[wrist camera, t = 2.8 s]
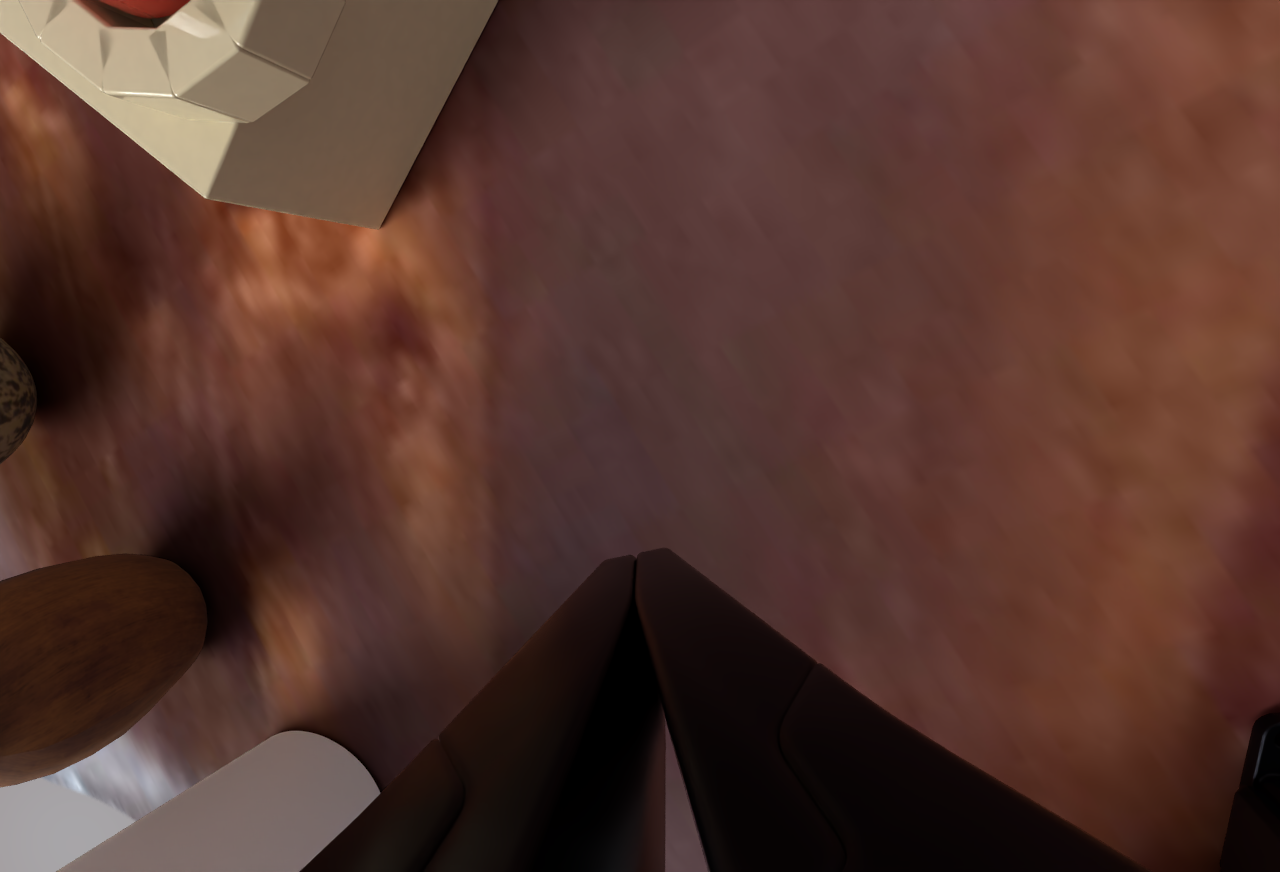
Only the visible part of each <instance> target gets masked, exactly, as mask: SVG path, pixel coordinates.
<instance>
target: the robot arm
mask: <svg viewBox="0 0 1280 872" xmlns="http://www.w3.org/2000/svg"><path fill="white" fill-rule="evenodd" d="M664 715H665V716H664ZM665 718H666V722H667V726H668V729H669V733H670V737H671V740H672V744H673V747H674V751H675V754H676V758H677V762H678V765H679V769H680V772H681V776H682V780H683V783H684V787H685V790H686V794H687V797H688V801H689V805H690V808H691V812H692V815H693V819H694V822H695V826H696V830H697V833H698V837H699V840H700V844H701V847H702V851H703V855H704V858H705V862H706V865H707V869H708V872H1152V871H1151V870H1149V869H1147V868H1146V867H1144V866H1142V865H1141V864H1139V863H1137V862H1136V861H1134V860H1132V859H1131V858H1129V857H1127V856H1125V855H1124V854H1122V853H1120V852H1119V851H1117V850H1115V849H1114V848H1112V847H1110V846H1109V845H1107V844H1105V843H1104V842H1102V841H1100V840H1099V839H1097V838H1095V837H1094V836H1092V835H1090V834H1088V833H1087V832H1085V831H1083V830H1082V829H1080V828H1078V827H1077V826H1075V825H1073V824H1072V823H1070V822H1068V821H1067V820H1065V819H1063V818H1062V817H1060V816H1058V815H1056V814H1055V813H1053V812H1051V811H1050V810H1048V809H1046V808H1045V807H1043V806H1041V805H1040V804H1038V803H1036V802H1035V801H1033V800H1031V799H1030V798H1028V797H1026V796H1024V795H1023V794H1021V793H1019V792H1018V791H1016V790H1014V789H1013V788H1011V787H1009V786H1008V785H1006V784H1004V783H1003V782H1001V781H999V780H998V779H996V778H994V777H992V776H991V775H989V774H987V773H986V772H984V771H982V770H981V769H979V768H977V767H976V766H974V765H972V764H971V763H969V762H967V761H966V760H964V759H962V758H960V757H959V756H957V755H955V754H954V753H952V752H950V751H949V750H947V749H946V748H944V747H942V746H941V745H939V744H938V743H936V742H934V741H933V740H931V739H930V738H928V737H927V736H925V735H923V734H922V733H920V732H919V731H917V730H915V729H914V728H912V727H911V726H909V725H907V724H906V723H904V722H903V721H901V720H899V719H898V718H896V717H895V716H893V715H891V714H890V713H889V712H887V711H886V710H884V709H883V708H881V707H880V706H879V705H877V704H876V703H874V702H873V701H872V700H870V699H869V698H867V697H866V696H865V695H863V694H862V693H860V692H859V691H857V690H856V689H855V688H853V687H852V686H850V685H849V684H848V683H846V682H845V681H844V680H842V679H841V678H840V677H838V676H837V675H836V674H834V673H833V672H832V671H830V670H829V669H828V668H826V667H825V666H824V665H822V664H820V663H818V664H817V662H816V661H815V660H814V659H813V658H811V657H810V656H809V655H807V654H806V653H805V652H803V651H802V650H801V649H800V648H798V647H797V646H796V645H794V644H793V643H792V642H790V641H789V640H788V639H786V638H785V637H784V636H783V635H781V634H780V633H779V632H777V631H776V630H775V629H773V628H772V627H771V626H769V625H768V624H767V623H765V622H764V621H763V620H762V619H760V618H759V617H758V616H756V615H755V614H754V613H752V612H751V611H750V610H748V609H747V608H746V607H745V606H743V605H742V604H741V603H739V602H738V601H737V600H735V599H734V598H733V597H731V596H730V595H729V594H727V593H726V592H725V591H724V590H722V589H721V588H720V587H718V586H717V585H716V584H714V583H713V582H712V581H710V580H709V579H708V578H707V577H705V576H704V575H703V574H701V573H700V572H699V571H697V570H696V569H695V568H693V567H692V566H691V565H689V564H688V563H687V562H686V561H684V560H683V559H682V558H680V557H679V556H678V555H676V554H675V553H674V552H672V551H671V550H670V549H668V548H660V549H655V550H651V551H646V552H641V553H639V554H638V555H637V559H636V558H635V556H633V555H626V556H622V557H617V558H612V559H607V560H605V561H603V562H602V563H601V564H600V565H599V566H598V567H597V568H596V570H595V571H594V572H593V573H592V574H591V575H590V576H589V577H588V578H587V579H586V580H585V581H584V582H583V583H582V584H581V585H580V586H579V587H578V589H577V590H576V591H575V592H574V593H573V594H572V595H571V596H570V597H569V598H568V599H567V600H566V601H565V602H564V603H563V604H562V605H561V606H560V608H559V609H558V610H557V611H556V612H555V613H554V614H553V615H552V616H551V617H550V618H549V619H548V620H547V621H546V622H545V623H544V624H543V625H542V627H541V628H540V629H539V630H538V631H537V632H536V633H535V634H534V635H533V636H532V637H531V638H530V639H529V640H528V641H527V642H526V643H525V644H524V646H523V647H522V648H521V649H520V650H519V651H518V652H517V653H516V654H515V655H514V656H513V657H512V658H511V659H510V660H509V661H508V662H507V663H506V665H505V666H504V667H503V668H502V669H501V670H500V671H499V672H498V673H497V674H496V675H495V676H494V677H493V678H492V679H491V680H490V681H489V683H488V684H487V685H486V686H485V687H484V688H483V689H482V690H481V691H480V692H479V693H478V694H477V695H476V696H475V697H474V698H473V699H472V700H471V702H470V703H469V704H468V705H467V706H466V707H465V708H464V709H463V710H462V711H461V712H460V713H459V714H458V715H457V716H456V717H455V718H454V719H453V720H452V722H451V723H450V724H449V725H448V726H447V727H446V728H445V729H444V730H443V731H442V732H441V733H440V735H439V740H438V739H434V740H432V741H431V742H430V743H429V744H428V745H427V746H426V747H425V748H424V749H423V750H422V751H421V752H420V753H419V754H418V755H417V757H416V758H415V759H414V760H413V761H412V762H411V763H410V764H409V765H408V766H407V767H406V768H405V769H404V770H403V771H402V772H401V773H400V774H399V775H398V776H397V777H396V778H395V779H394V780H393V781H392V782H391V783H390V784H389V785H388V786H387V787H386V788H385V789H384V790H383V791H382V792H381V793H380V794H379V795H378V796H377V797H376V798H375V799H374V800H373V801H372V802H371V803H370V804H369V805H368V806H367V807H366V808H365V810H364V811H363V812H362V813H361V814H360V815H359V816H358V817H357V818H356V819H354V820H353V821H352V822H351V823H350V824H349V825H348V826H347V827H346V828H345V829H344V830H343V831H342V832H341V833H340V834H339V835H338V836H336V837H335V838H334V839H333V840H332V841H331V842H330V843H329V844H328V845H327V846H326V847H325V848H324V849H323V850H322V851H321V852H320V853H318V854H317V855H316V856H315V857H314V858H313V859H312V860H311V861H310V862H309V863H308V864H307V865H306V866H305V867H304V868H303V869H302V870H300V871H299V872H665V751H666V740H665ZM1279 733H1280V713H1274V714H1267V715H1264V716H1262V717H1260V718H1259V719H1258V720H1256V721H1255V723H1254V725H1253V728H1252V732H1251V737H1250V741H1249V746H1248V750H1247V755H1246V759H1245V764H1244V768H1243V773H1242V777H1241V782H1240V786H1239V789H1238V790H1237V792H1236V793H1235V797H1234V801H1233V806H1232V810H1231V815H1230V819H1229V824H1228V828H1227V833H1226V837H1225V842H1224V846H1223V851H1222V855H1221V860H1220V867H1221V871H1220V872H1280V738H1275V737H1276V735H1277V734H1279Z"/></svg>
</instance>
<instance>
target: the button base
mask: <svg viewBox="0 0 1280 872" xmlns="http://www.w3.org/2000/svg"><path fill="white" fill-rule="evenodd" d="M498 1H499V0H190V1H189V2H188V3H186V4H185V5H184V6H183V7H182V8H180V9H179V10H178V11H177V12H175V13H174V14H173V15H171V16H167V17H163V18H152V19H149V18H141V17H137V16H133V15H130V14H128V13H125V12H123V11H121V10H119V9H116V8H114V7H112V6H109V5H107V4H105V3H103V2H100V1H98V0H0V33H1V34H2V35H4V36H5V37H6V38H7V39H9V40H10V41H11V42H12V43H13V44H15V45H16V46H17V47H18V48H20V49H21V50H22V51H23V52H25V53H26V54H27V55H28V56H30V57H31V58H32V59H33V60H35V61H36V62H37V63H38V64H39V65H41V66H42V67H43V68H44V69H46V70H47V71H48V72H49V73H51V74H52V75H53V76H54V77H56V78H57V79H58V80H59V81H60V82H62V83H63V84H64V85H65V86H67V87H68V88H69V89H70V90H72V91H73V92H74V93H75V94H77V95H78V96H79V97H80V98H81V99H83V100H84V101H85V102H86V103H88V104H89V105H90V106H91V107H93V108H94V109H95V110H96V111H98V112H99V113H100V114H101V115H103V116H104V117H105V118H106V119H107V120H109V121H110V122H111V123H112V124H114V125H115V126H116V127H117V128H119V129H120V130H121V131H122V132H124V133H125V134H126V135H127V136H128V137H130V138H131V139H132V140H133V141H135V142H136V143H137V144H138V145H140V146H141V147H142V148H143V149H145V150H146V151H147V152H148V153H150V154H151V155H152V156H153V157H154V158H156V159H157V160H158V161H159V162H161V163H162V164H163V165H164V166H166V167H167V168H168V169H169V170H171V171H172V172H173V173H174V174H175V175H177V176H178V177H179V178H180V179H182V180H183V181H184V182H185V183H187V184H188V185H189V186H190V187H192V188H193V189H194V190H195V191H197V192H198V193H199V194H200V195H201V196H203V197H204V198H205V199H210V200H215V201H221V202H226V203H232V204H238V205H243V206H249V207H254V208H260V209H265V210H271V211H276V212H282V213H288V214H293V215H299V216H304V217H310V218H315V219H321V220H327V221H332V222H338V223H343V224H349V225H354V226H360V227H365V228H371V229H377V230H378V229H380V227H381V225H382V223H383V221H384V219H385V217H386V215H387V213H388V211H389V209H390V208H391V206H392V204H393V202H394V200H395V198H396V196H397V194H398V192H399V190H400V188H401V186H402V185H403V183H404V181H405V179H406V177H407V175H408V173H409V171H410V169H411V167H412V165H413V163H414V162H415V160H416V158H417V156H418V154H419V152H420V150H421V148H422V146H423V144H424V142H425V140H426V139H427V137H428V135H429V133H430V131H431V129H432V127H433V125H434V123H435V121H436V119H437V117H438V116H439V114H440V112H441V110H442V108H443V106H444V104H445V102H446V100H447V98H448V96H449V95H450V93H451V91H452V89H453V87H454V85H455V83H456V81H457V79H458V77H459V75H460V73H461V72H462V70H463V68H464V66H465V64H466V62H467V60H468V58H469V56H470V54H471V52H472V50H473V49H474V47H475V45H476V43H477V41H478V39H479V37H480V35H481V33H482V31H483V29H484V27H485V26H486V24H487V22H488V20H489V18H490V16H491V14H492V12H493V10H494V8H495V6H496V4H497V3H498Z"/></svg>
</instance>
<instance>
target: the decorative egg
mask: <svg viewBox="0 0 1280 872" xmlns="http://www.w3.org/2000/svg"><path fill="white" fill-rule="evenodd" d="M36 409H37V392H36V387H35V383H34V380H33V377H32V375H31V373H30V371H29V370H28V368H27V366H26V364H25V363H24V362H23V360H22V359H21V357H20V356H19V355H18V354H17V353H16V351H15V350H14V349H12V348H11V347H10V346H9V345H8V344H7V343H6V342H4V341H3V340H2V339H1V338H0V464H1V463H2V462H3V461H4V460H6V459H7V458H8V457H9V456H10V455H11V454H12V453H13V452H14V451H15V450H16V449H17V448H18V447H19V445H20V444H21V443H22V442H23V440H24V439H25V438H26V436H27V434H28V432H29V430H30V428H31V426H32V424H33V421H34V417H35V413H36Z"/></svg>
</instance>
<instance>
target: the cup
mask: <svg viewBox="0 0 1280 872" xmlns="http://www.w3.org/2000/svg"><path fill="white" fill-rule="evenodd" d="M379 794H380V791H379V789H378V787H377V785H376V783H375V781H374V780H373V778H372V776H371V775H370V773H369V772H368V771H367V769H366V768H365V767H364V766H363V765H362V763H361V762H360V761H359V760H358V759H357V758H356V757H355V756H354V755H352V754H351V753H350V752H349V751H348V750H346V749H345V748H344V747H342V746H340V745H339V744H337V743H336V742H334V741H332V740H330V739H328V738H326V737H323V736H321V735H318V734H315V733H311V732H305V731H286V732H282V733H279V734H276V735H274V736H272V737H270V738H268V739H267V740H265V741H264V742H262V743H260V744H259V745H257V746H256V747H254V748H253V749H251V750H249V751H248V752H246V753H245V754H243V755H241V756H240V757H238V758H237V759H235V760H233V761H232V762H230V763H229V764H227V765H225V766H224V767H222V768H221V769H219V770H217V771H216V772H214V773H213V774H211V775H209V776H208V777H206V778H205V779H203V780H201V781H200V782H198V783H197V784H195V785H193V786H192V787H190V788H189V789H187V790H185V791H184V792H182V793H181V794H179V795H177V796H176V797H174V798H173V799H171V800H169V801H168V802H166V803H165V804H163V805H162V806H160V807H158V808H157V809H155V810H154V811H152V812H150V813H149V814H147V815H146V816H144V817H142V818H141V819H139V820H138V821H136V822H134V823H133V824H131V825H130V826H128V827H127V828H125V829H123V830H122V831H120V832H118V833H117V834H115V835H114V836H112V837H111V838H109V839H107V840H106V841H104V842H102V843H101V844H99V845H98V846H96V847H95V848H93V849H92V850H90V851H89V852H87V853H85V854H83V855H82V856H80V857H79V858H77V859H75V860H74V861H72V862H71V863H69V864H67V865H66V866H65V867H63V868H61V869H59V870H58V871H56V872H299V871H300V870H302V869H303V868H304V867H305V866H306V865H307V864H308V863H309V862H310V861H311V860H312V859H313V858H314V857H315V856H316V855H317V854H318V853H320V852H321V851H322V850H323V849H324V848H325V847H326V846H327V845H328V844H329V843H330V842H331V841H332V840H333V839H334V838H335V837H336V836H338V835H339V834H340V833H341V832H342V831H343V830H344V829H345V828H346V827H347V826H348V825H349V824H350V823H351V822H352V821H353V820H354V819H356V818H357V817H358V816H359V815H360V814H361V813H362V812H363V811H364V810H365V808H366V807H367V806H368V805H369V804H370V803H371V802H372V801H373V800H374V799H375V798H376V797H377V796H378V795H379Z"/></svg>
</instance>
